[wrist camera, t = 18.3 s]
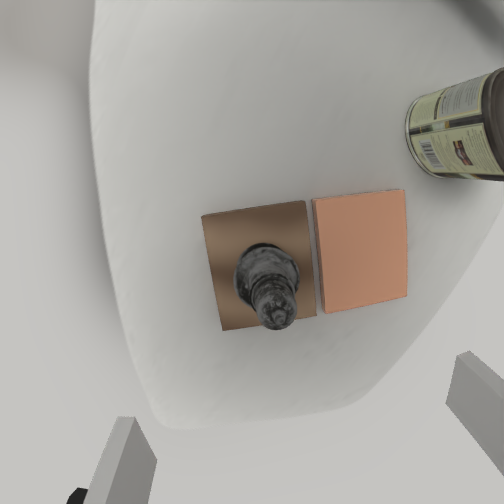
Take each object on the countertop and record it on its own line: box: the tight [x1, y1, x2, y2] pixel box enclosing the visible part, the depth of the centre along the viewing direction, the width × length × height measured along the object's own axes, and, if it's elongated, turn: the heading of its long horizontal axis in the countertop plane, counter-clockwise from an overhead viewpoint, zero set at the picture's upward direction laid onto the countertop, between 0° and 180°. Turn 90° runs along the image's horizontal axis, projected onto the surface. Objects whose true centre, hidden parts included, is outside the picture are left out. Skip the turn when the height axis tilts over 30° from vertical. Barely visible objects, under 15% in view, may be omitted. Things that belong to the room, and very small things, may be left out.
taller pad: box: [312, 189, 407, 314], centre depth 32 cm, size 12×10×2 cm
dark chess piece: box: [233, 243, 300, 330], centre depth 25 cm, size 6×6×12 cm
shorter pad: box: [201, 201, 317, 331], centre depth 32 cm, size 12×10×2 cm
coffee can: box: [405, 68, 504, 181], centre depth 23 cm, size 10×10×14 cm
